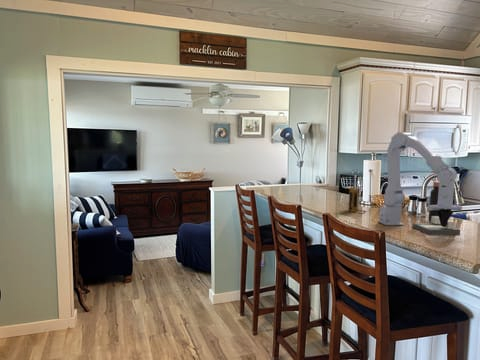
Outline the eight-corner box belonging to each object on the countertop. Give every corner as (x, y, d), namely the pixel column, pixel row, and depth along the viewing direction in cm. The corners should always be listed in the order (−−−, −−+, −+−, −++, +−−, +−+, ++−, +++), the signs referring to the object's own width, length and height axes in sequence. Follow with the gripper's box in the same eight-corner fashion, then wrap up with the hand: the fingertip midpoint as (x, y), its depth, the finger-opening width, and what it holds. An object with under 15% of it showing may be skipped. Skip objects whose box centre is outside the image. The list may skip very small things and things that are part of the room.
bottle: (445, 222, 183) (448, 183, 181) (430, 222, 184) (433, 182, 182) (440, 220, 189) (444, 181, 187) (426, 219, 191) (429, 181, 189)
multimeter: (372, 214, 202) (374, 177, 200) (354, 213, 202) (355, 177, 200) (363, 209, 216) (365, 175, 214) (346, 208, 216) (348, 175, 214)
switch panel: (429, 234, 159) (429, 229, 159) (412, 227, 172) (413, 222, 171) (459, 234, 160) (460, 229, 160) (441, 227, 173) (441, 222, 173)
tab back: (434, 223, 169) (435, 217, 168) (431, 222, 172) (431, 216, 171) (441, 223, 169) (441, 217, 169) (437, 222, 172) (437, 216, 172)
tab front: (447, 228, 160) (448, 221, 159) (443, 226, 163) (443, 220, 162) (454, 228, 160) (454, 221, 160) (449, 226, 163) (450, 220, 163)
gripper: (435, 197, 155) (432, 228, 156) (467, 197, 156) (465, 228, 158) (425, 194, 162) (423, 224, 163) (456, 194, 163) (454, 224, 165)
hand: (443, 226), depth 161 cm, fingers closed
